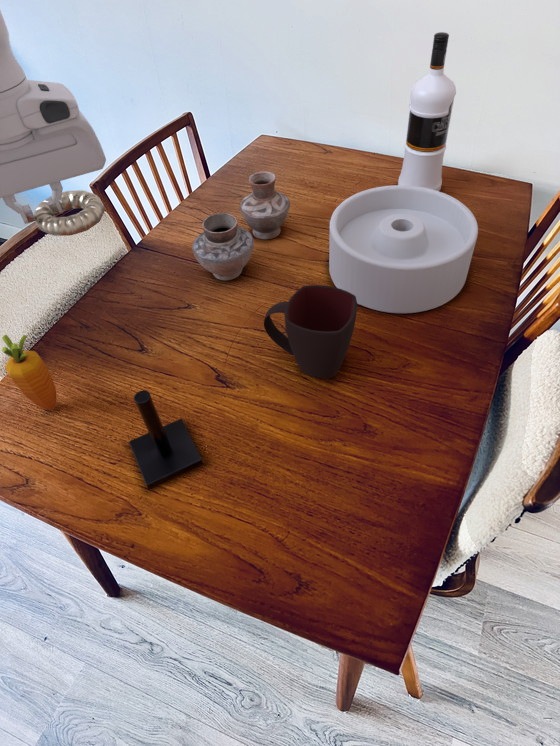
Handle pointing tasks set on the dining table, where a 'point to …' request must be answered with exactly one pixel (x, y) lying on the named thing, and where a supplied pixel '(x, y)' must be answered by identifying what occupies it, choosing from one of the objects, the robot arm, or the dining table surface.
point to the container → (401, 247)
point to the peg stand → (162, 445)
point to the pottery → (241, 229)
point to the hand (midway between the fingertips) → (43, 216)
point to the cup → (316, 328)
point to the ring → (73, 223)
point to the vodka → (429, 122)
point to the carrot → (30, 374)
